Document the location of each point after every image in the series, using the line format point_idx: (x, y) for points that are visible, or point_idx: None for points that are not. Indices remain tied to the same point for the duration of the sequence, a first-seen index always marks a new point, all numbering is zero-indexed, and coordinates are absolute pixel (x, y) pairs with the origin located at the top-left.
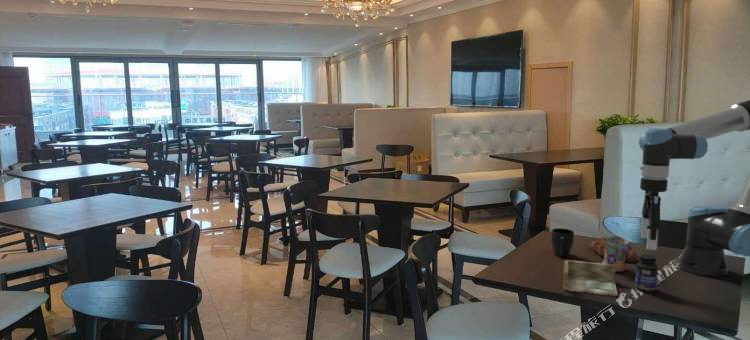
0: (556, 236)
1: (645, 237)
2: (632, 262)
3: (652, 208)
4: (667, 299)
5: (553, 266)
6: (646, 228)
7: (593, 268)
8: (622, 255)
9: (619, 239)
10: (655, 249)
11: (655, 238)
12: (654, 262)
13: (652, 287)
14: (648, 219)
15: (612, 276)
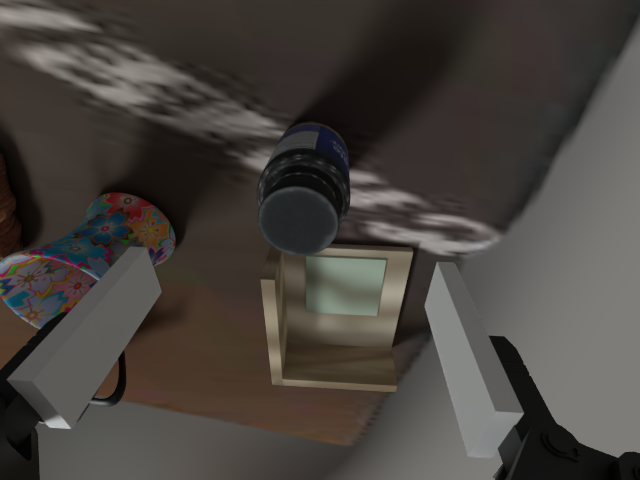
0: (87, 406)
1: (151, 274)
2: (2, 154)
3: None
4: (407, 89)
5: (214, 355)
6: (113, 325)
7: (281, 318)
8: (120, 245)
9: (8, 281)
10: (454, 270)
11: (516, 352)
12: (320, 184)
13: (343, 143)
14: (50, 396)
15: (280, 259)
